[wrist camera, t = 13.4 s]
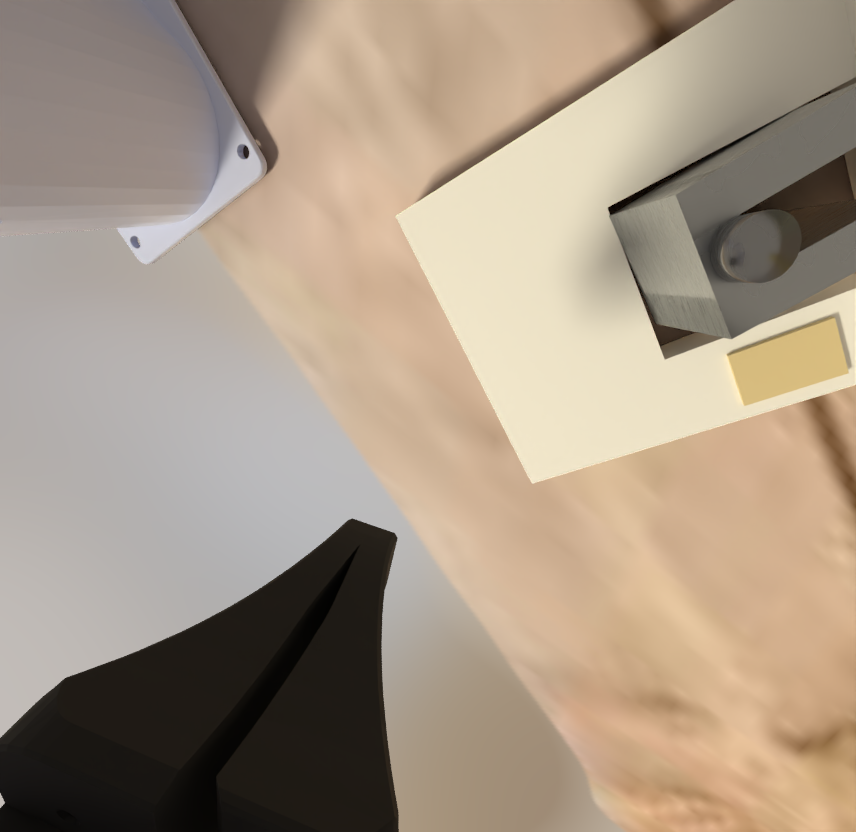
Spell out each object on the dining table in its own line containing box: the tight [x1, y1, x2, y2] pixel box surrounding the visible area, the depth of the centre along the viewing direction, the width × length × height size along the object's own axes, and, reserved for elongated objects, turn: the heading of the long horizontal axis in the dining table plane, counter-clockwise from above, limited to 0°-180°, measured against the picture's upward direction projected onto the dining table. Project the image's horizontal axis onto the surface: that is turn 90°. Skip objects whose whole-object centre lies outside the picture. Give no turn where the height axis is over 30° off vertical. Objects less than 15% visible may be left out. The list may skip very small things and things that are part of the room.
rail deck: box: [396, 0, 856, 484], centre depth 15 cm, size 12×14×2 cm
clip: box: [609, 83, 856, 339], centre depth 13 cm, size 4×5×5 cm
